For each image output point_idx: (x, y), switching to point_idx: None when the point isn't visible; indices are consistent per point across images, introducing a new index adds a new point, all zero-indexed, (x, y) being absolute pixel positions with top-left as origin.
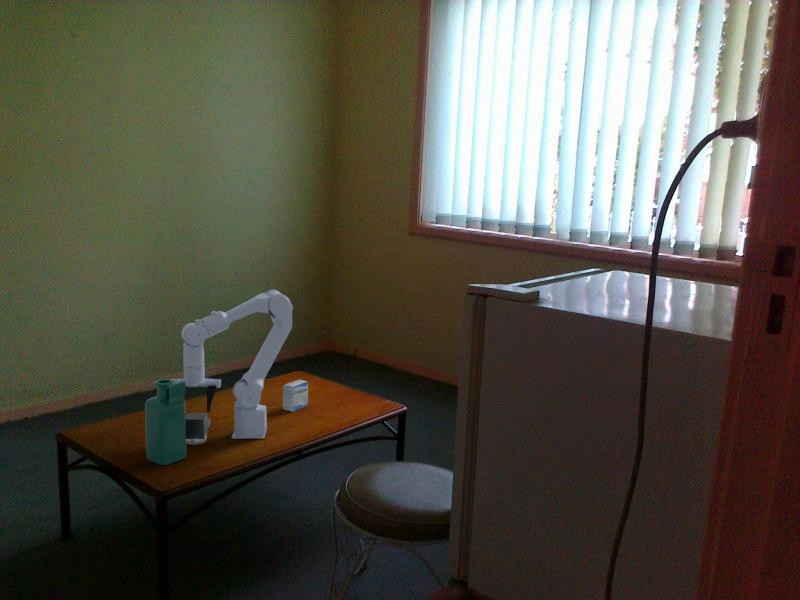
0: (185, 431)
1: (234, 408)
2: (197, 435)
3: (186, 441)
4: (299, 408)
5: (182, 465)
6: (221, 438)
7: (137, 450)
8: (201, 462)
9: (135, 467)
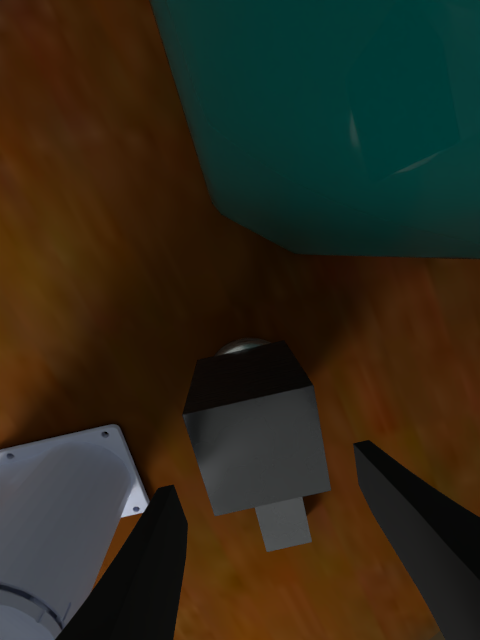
0: (192, 140)
1: (55, 593)
2: (225, 359)
3: None
4: None
5: None
6: (161, 419)
7: None
8: (115, 153)
9: None
